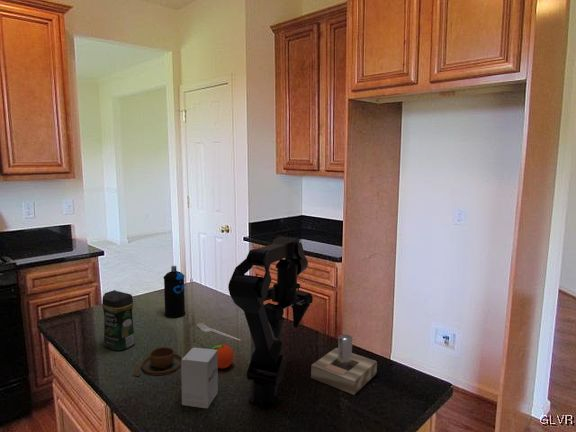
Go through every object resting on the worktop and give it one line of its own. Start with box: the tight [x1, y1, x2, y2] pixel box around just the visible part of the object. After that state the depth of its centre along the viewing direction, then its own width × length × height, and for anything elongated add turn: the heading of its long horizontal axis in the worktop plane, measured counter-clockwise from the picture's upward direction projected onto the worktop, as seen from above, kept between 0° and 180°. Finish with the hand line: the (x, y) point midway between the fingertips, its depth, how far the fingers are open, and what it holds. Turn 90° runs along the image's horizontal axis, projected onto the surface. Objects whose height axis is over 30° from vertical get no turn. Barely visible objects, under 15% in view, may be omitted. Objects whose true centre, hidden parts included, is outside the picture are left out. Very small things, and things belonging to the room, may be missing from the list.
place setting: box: [133, 346, 183, 377], centre depth 123 cm, size 18×20×6 cm
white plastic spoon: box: [196, 321, 241, 341], centre depth 150 cm, size 3×20×2 cm, turn 57°
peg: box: [337, 334, 353, 371], centre depth 121 cm, size 4×4×12 cm
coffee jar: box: [101, 289, 136, 352], centre depth 138 cm, size 10×8×19 cm
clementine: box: [210, 343, 235, 369], centre depth 125 cm, size 8×7×7 cm
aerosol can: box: [162, 265, 186, 319], centre depth 165 cm, size 8×8×20 cm
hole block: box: [310, 347, 378, 396], centre depth 121 cm, size 14×14×4 cm
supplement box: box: [180, 347, 219, 409], centre depth 108 cm, size 7×7×13 cm
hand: (286, 332), depth 120 cm, fingers open, 9 cm apart
